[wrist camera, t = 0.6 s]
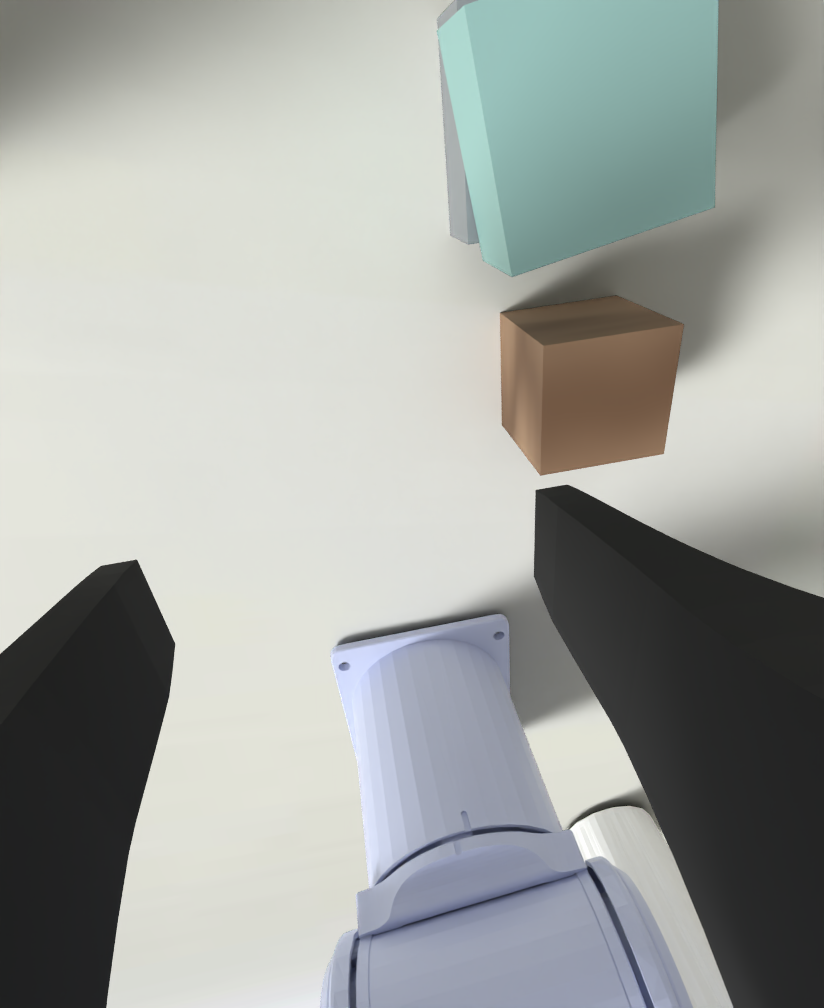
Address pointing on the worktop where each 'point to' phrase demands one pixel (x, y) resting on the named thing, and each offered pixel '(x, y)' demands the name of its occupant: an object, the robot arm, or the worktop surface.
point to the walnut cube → (587, 382)
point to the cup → (657, 893)
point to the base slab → (455, 155)
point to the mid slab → (581, 120)
